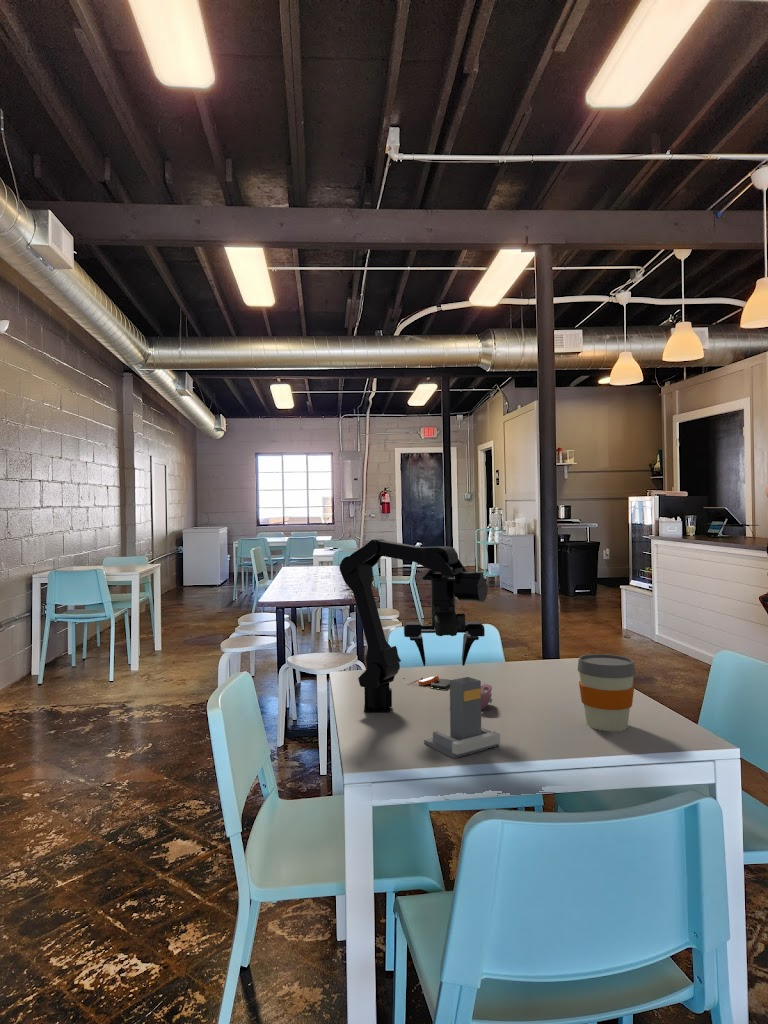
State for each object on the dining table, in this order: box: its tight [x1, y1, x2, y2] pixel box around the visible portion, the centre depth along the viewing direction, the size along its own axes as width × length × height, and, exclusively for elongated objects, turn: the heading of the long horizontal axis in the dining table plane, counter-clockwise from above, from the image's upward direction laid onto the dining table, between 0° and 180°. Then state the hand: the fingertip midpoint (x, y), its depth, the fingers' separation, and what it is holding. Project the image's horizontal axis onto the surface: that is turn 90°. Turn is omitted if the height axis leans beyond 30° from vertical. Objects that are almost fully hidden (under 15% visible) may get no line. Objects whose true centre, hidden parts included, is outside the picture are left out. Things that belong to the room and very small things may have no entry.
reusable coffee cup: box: [577, 653, 636, 732], centre depth 143 cm, size 13×13×15 cm
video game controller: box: [481, 683, 493, 711], centre depth 158 cm, size 10×5×7 cm, turn 170°
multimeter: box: [410, 674, 451, 690], centre depth 180 cm, size 18×12×3 cm, turn 57°
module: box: [449, 676, 482, 740], centre depth 130 cm, size 4×5×13 cm
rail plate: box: [423, 726, 501, 759], centre depth 131 cm, size 11×12×3 cm
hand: (443, 665), depth 148 cm, fingers open, 9 cm apart
